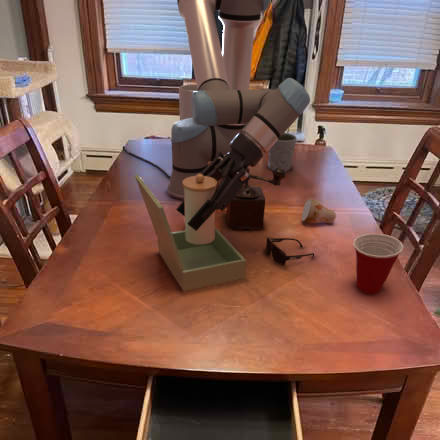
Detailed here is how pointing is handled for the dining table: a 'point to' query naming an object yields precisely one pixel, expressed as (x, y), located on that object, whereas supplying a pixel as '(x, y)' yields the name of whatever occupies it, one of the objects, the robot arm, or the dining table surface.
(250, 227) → the brown manual coffee grinder
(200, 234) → the canister
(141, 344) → the dining table surface
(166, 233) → the box lid
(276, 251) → the sunglasses
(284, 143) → the grey pot
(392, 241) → the plastic cup
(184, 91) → the cylinder vase
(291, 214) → the dining table surface
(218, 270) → the box
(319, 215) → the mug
